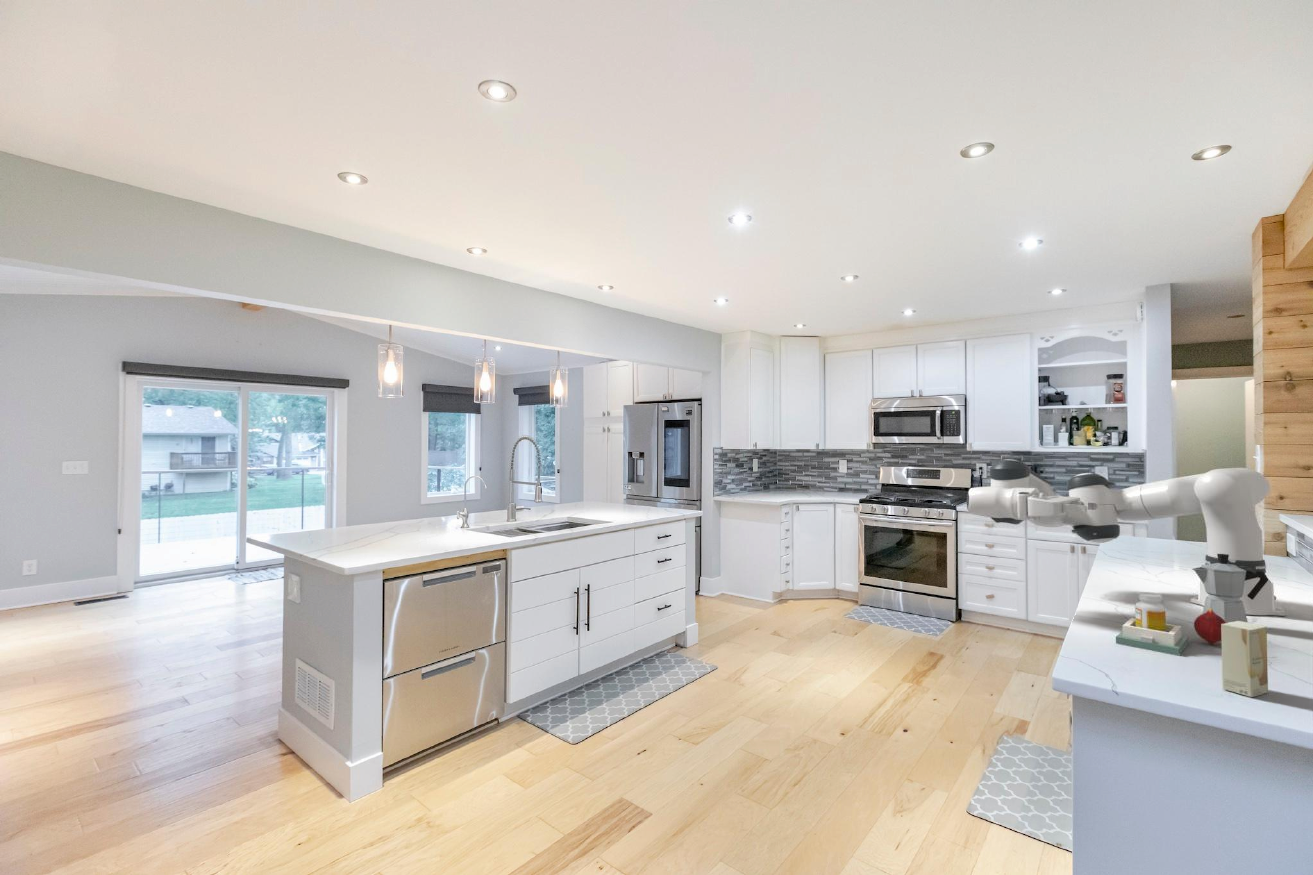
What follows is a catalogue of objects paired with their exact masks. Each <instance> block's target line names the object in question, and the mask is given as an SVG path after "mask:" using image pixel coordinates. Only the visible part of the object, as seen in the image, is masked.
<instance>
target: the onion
mask: <svg viewBox="0 0 1313 875" xmlns="http://www.w3.org/2000/svg"><path fill="white" fill-rule="evenodd" d="M1225 623H1226V622H1225V621H1224V620H1223V619H1222V618H1221V617H1220V616H1218V615H1217V614H1215V613H1214V612H1213V610H1212V609H1210V608H1209V609H1207V612H1206V613H1204V614H1203V613H1201V614H1200V615H1199V616H1197V617H1196V618H1195V619H1194V622H1193V628H1194V631H1195V632H1196V635H1198V636H1199V637H1200V638H1201V639H1203V640H1204V641H1205V642H1207V643H1208V644H1210V645H1215V644H1217V643H1220V642H1222V633H1221V624H1225Z"/></svg>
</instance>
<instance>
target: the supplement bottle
mask: <svg viewBox="0 0 1313 875" xmlns="http://www.w3.org/2000/svg"><path fill="white" fill-rule="evenodd" d="M1138 600H1139V601H1137V602H1136V603H1135V606H1134V608H1135V610H1134V611H1135V619H1136V627H1140V628H1146V629H1151V630H1157V631H1163V632H1166V624H1167V620H1166V613H1167V610H1166V607H1165V605H1163V604H1161V602H1162V595H1161V594H1158V593H1154V592H1144V591H1143V592H1141V591H1140V592H1138Z"/></svg>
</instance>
